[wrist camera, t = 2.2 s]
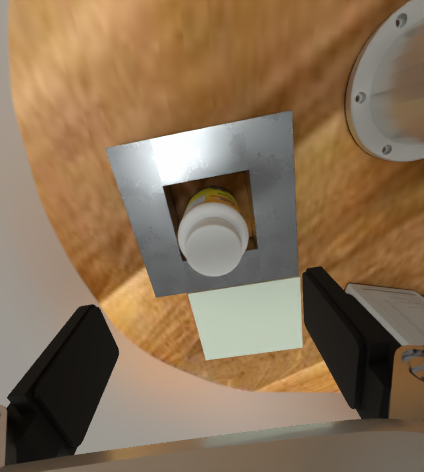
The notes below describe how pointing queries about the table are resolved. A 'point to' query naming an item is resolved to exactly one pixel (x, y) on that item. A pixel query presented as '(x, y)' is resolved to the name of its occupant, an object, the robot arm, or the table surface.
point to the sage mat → (249, 317)
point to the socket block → (202, 166)
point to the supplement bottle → (213, 232)
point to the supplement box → (394, 311)
